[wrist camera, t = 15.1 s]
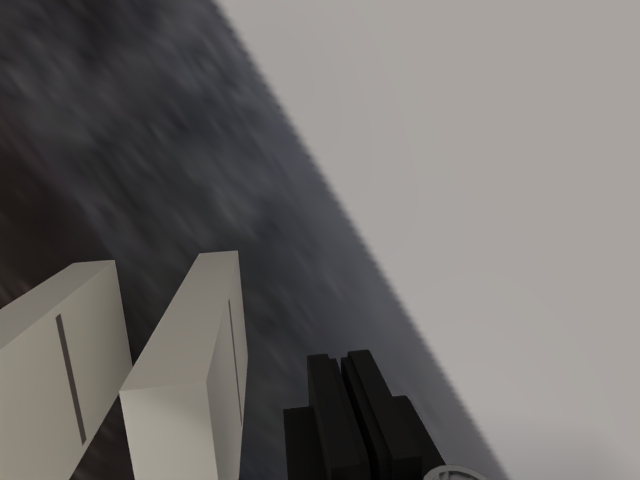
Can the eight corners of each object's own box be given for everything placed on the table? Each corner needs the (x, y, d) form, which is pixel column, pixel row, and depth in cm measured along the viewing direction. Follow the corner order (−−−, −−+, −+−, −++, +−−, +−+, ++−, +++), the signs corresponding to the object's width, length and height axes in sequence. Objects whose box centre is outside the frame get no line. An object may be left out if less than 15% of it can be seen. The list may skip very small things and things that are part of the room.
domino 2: (238, 250, 18) (206, 381, 8) (248, 356, 19) (231, 582, 9) (199, 253, 17) (118, 391, 8) (211, 360, 19) (155, 595, 9)
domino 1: (114, 259, 17) (-80, 412, 7) (133, 368, 18) (-14, 623, 9) (73, 263, 17) (-183, 424, 7) (94, 372, 18) (-101, 637, 8)
